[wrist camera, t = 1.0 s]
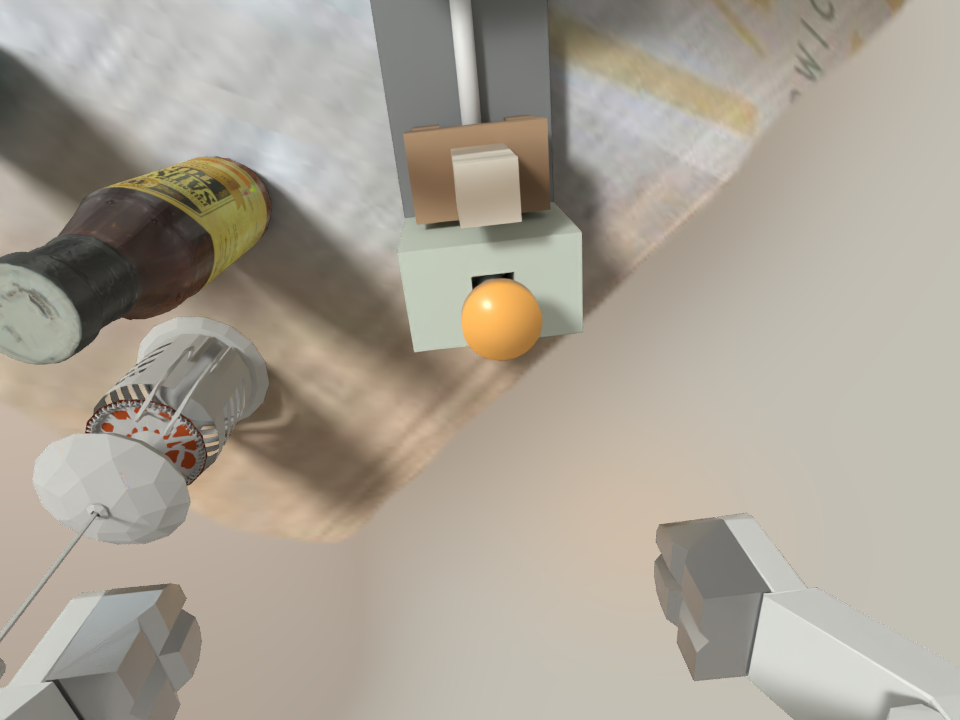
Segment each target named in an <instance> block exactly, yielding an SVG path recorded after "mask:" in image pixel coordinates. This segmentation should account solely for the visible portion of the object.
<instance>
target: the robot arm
mask: <svg viewBox="0 0 960 720" xmlns="http://www.w3.org/2000/svg"><path fill="white" fill-rule="evenodd" d="M656 543H657V545H658V548H659V549H660V552H661V555H660V556H659V557H658V558H657V559H656V561H655V566H654V578H655V584H656V591H657V595H658V598H659V601H660V605H661V607H662V610H663V612H664V614H665V616H666V619H667V620H669V621H670V622H672V623H673V624H674V625H676V626H677V627H678V635H677V644H678V646H679V649H680V651H681V653H682V656H683V658H684V660H685V662H686V664H687V667H688V669H689V671H690V673H691V676H692V678H693V680H694V681H699V680H709V679H720V678H730V677H741V676H748V679H749V680H750V681H751V682H752V683H753V684H754V685H755V686H756V687H757V688H759V689H760V690H761V691H762V692H763V693H764V694H765V695H767V696H768V697H769V698H770V699H771V700H772V701H773V702H774V703H776V704H777V705H778V706H779V707H780V708H781V709H783V710H784V711H785V712H786V713H787V714H788V715H789V716H790V717H792V718H793V719H794V720H960V667H959V666H957V665H955V664H953V663H951V662H950V661H948V660H946V659H944V658H943V657H941V656H939V655H937V654H935V653H934V652H932V651H930V650H928V649H926V648H924V647H923V646H921V645H919V644H918V643H916V642H914V641H912V640H910V639H909V638H907V637H905V636H903V635H901V634H900V633H898V632H896V631H894V630H892V629H891V628H889V627H887V626H885V625H884V624H882V623H880V622H878V621H876V620H875V619H872V618H871V617H869V616H867V615H866V614H864V613H862V612H860V611H858V610H857V609H855V608H853V607H851V606H850V605H848V604H846V603H844V602H842V601H841V600H839V599H837V598H835V597H834V596H832V595H830V594H828V593H826V592H825V591H823V590H821V589H819V588H817V587H816V588H807V587H806V585H805V584H804V583H803V581H802V580H801V579H800V577H799V576H798V575H797V573H796V572H795V571H794V570H793V568H792V567H791V566H790V564H789V563H788V562H787V560H786V559H785V558H784V556H783V555H782V554H781V553H780V551H779V550H778V549H777V547H776V546H775V545H774V544H773V542H772V541H771V539H770V538H769V537H768V536H767V534H766V533H765V532H764V530H763V529H762V528H761V526H760V525H759V524H758V522H757V521H756V520H755V518H754V517H753V516H751V515H750V514H748V513H742V514H735V515H727V516H720V517H717V518H714V517H713V518H705V519H697V520H690V521H682V522H674V523H666V524H659V527H658V529H657V533H656ZM186 599H187V598H186V596H185V594H184V593H183V591H182V589H181V587H180V585H177V584H160V585H150V586H139V587H129V588H118V589H112V590H104V591H93V592H83V593H81V594H79V595H78V596H76V597H75V598H73V599H72V600H71V601H70V602H69V604H68V605H67V607H66V608H65V609H64V610H63V612H62V613H61V614H60V616H59V617H58V618H57V620H56V621H55V622H54V624H53V625H52V626H51V628H50V629H49V631H48V632H47V633H46V635H45V636H44V637H43V639H42V640H41V641H40V643H39V644H38V645H37V647H36V648H35V650H34V651H33V652H32V654H31V655H30V656H29V658H28V659H27V660H26V662H25V663H24V664H23V666H22V667H21V668H20V670H19V671H18V672H17V674H16V675H15V677H14V678H13V679H12V681H11V682H10V683H9V685H8V686H7V687H3V688H0V720H174V718H175V716H176V714H177V711H178V709H179V707H180V701H179V698H178V695H177V691H178V690H179V689H180V688H181V687H182V686H184V685H185V684H186V683H187V682H188V681H189V680H190V679H191V678H192V676H193V674H194V671H195V669H196V666H197V664H198V661H199V656H200V650H201V642H202V640H201V632H200V627H199V625H198V622H197V620H196V618H195V617H194V616H193V615H191V614H189V613H188V612H186V611H184V610H183V609H182V607H183V605H184V603H185V601H186Z"/></svg>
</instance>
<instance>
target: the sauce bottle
mask: <svg viewBox="0 0 960 720" xmlns="http://www.w3.org/2000/svg"><path fill="white" fill-rule="evenodd" d="M270 216H271V201H270V197H269V194H268V191H267V190H266V187H265V185H264V184H263V182H262V181H261V180H260V179H259V178H258V176H257V175H256V174H255V173H254V172H253V171H252V170H250V169H249V168H247V167H246V166H244V165H242V164H240V163H238V162H236V161H233V160H231V159H229V158H228V159H227V158H221V157H198V158H194V159H191V160H188V161H185V162H182V163H179V164H176V165H172V166H169V167H167V168H163V169H160V170H157V171H154V172H151V173H147V174H145V175H141V176H138V177H135V178H132V179H129V180H126V181H123V182H120V183H117V184H113V185H110V186H107V187H104V188H102V189H99V190H96V191H94V192H92V193H90V194H89V195H87V196H86V197H85V198H84V199H83V201H82V202H81V204H80V206H79V207H78V209H77V211H76V213H75V214H74V216H73V217H72V218H71V219H70V221H69V222H68V223H67V225H66V226H65V227H64V229H63V230H62V231H61V233H60V234H59V235H58V236H57V237H55V238H54V239H52V240H51V241H49V242H48V243H47V244H46V245H45V246H42V247H40V248H36V249H34V250H32V251H30V252H15V253H11V254H7V255H5V256H2V257H0V353H2V354H5V355H7V356H9V357H10V358H13V359H15V360H18V361H22V362H25V363H29V364H52V363H60V362H62V361H65V360H67V359H69V358H70V357H72V356H73V355H75V354H76V353H78V352H80V351H81V350H82V349H83V348H85V347H86V346H88V345H89V344H90V343H91V342H92V341H93V340H94V339H95V338H96V337H97V335H98V334H99V331H100V330H101V329H102V328H103V327H104V326H106V325H108V324H109V323H111V322H112V321H115V320H117V319H120V318H121V317H122V318H126V319H129V320H132V319H147V318H151V317H154V316H157V315H160V314H163V313H166V312H168V311H170V310H172V309H174V308H176V307H177V306H178V305H180V304H181V303H182V302H184V301H185V300H186V299H187V298H188V297H191V296H192V295H194V294H196V293H197V292H199V291H200V290H201V289H202V288H204V287H205V286H206V285H207V284H208V283H210V282H211V281H212V280H213V279H214V278H216V277H217V276H218V275H219V274H220V273H222V272H223V271H224V270H225V269H226V268H227V267H229V266H230V265H231V264H232V263H234V262H235V261H236V260H237V259H238V258H240V257H241V256H242V255H243V254H244V253H246V252H247V251H248V250H249V249H250V248H252V247H253V246H254V245H255V244H256V243H257V242H258V241H259V239H260V238H261V236H262V235H263V234H264V233H265V231H266V230H267V228H268V224H269V221H270Z"/></svg>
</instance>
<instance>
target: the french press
mask: <svg viewBox="0 0 960 720" xmlns="http://www.w3.org/2000/svg"><path fill="white" fill-rule="evenodd" d="M137 367H138V369H136V370H134V369H135V368H137ZM130 371H131V372H130ZM130 371H129V372H128V373H127V374H126V375H125V376H124V377H123V378H121V379H120V381H121V382H120V381H119V382H118V383H117V384H116V385H115V386H114V387H112V388H111V389H110V390H109V391H108V392H107V393H106V394H105V395H104V396H103V398H102V399H101V400H100V401H99V403H98V404H97V405H96V406H95V408H94V414H93V416H92V417H91V418H90V419H89V421H88V422H87V425H86V432H85V433H76V434H74V435H71V436H68V437H66V438H63V439H61V440H58V441H56V442H53V443H50V444H49V446H48V447H47V448H46V449H45V450H44V451H43V452H42V454H41V455H40V456H39V457H38V458H37V459H36V460H35V467H34V475H33V484H34V487H35V489H36V492H37V494H38V496H39V499H40V501H41V504H42V506H43V507H45V508H46V509H47V510H48V511H49V512H50V513H51V514H52V515H53V516H54V517H55V518H56V519H57V520H58V521H59V522H60V523H61V524H62V525H64V526H66V527H68V528H70V529H72V530H74V531H75V532H78V533H77V535H76V536H75V537H74V539H73V540H72V541H71V542H70V544H69V545H68V546H67V547H66V549H65V550H64V551H63V553H62V554H61V555H60V557H59V558H58V559H57V560H56V562H55V563H54V564H53V565H52V567H51V568H50V569H49V571H48V572H47V573H46V575H45V576H44V577H43V579H42V580H41V581H40V582H39V584H38V585H37V586H36V587H35V589H34V590H33V591H32V593H31V594H30V595H29V596H28V598H27V599H26V600H25V601H24V603H23V604H22V605H21V607H20V608H19V609H18V610H17V612H16V613H15V614H14V616H13V617H12V618H11V619H10V621H9V622H8V623H7V625H6V626H5V627H4V628H3V630H2V631H1V632H0V642H1V641H2V640H3V638H4V637H5V636H6V634H7V633H8V632H9V631H10V629H11V628H12V627H13V625H14V624H15V623H16V621H17V620H18V619H19V617H20V616H21V615H22V613H23V612H24V611H25V610H26V608H27V607H28V605H29V604H30V603H31V602H32V600H33V599H34V597H35V596H36V595H37V594H38V593H39V591H40V590H41V589H42V587H43V586H44V585H45V583H46V582H47V581H48V579H49V578H50V577H51V576H52V574H53V573H54V572H55V570H56V569H57V568H58V566H59V565H60V563H61V562H62V561H63V560H64V558H65V557H66V556H67V555H68V553H69V552H70V551H71V549H72V548H73V547H74V545H75V544H76V543H77V541H78V540H79V539H80V538H81V536H82V535H83V536H85V537H87V538H90V539H94V540H98V541H103V542H108V543H113V544H146V543H149V542H151V541H155V540H157V539H161V538H163V537H166V536H169V535H170V534H171V533H172V532H173V531H175V530H176V529H177V528H178V527H179V526H180V525H181V524H182V523H183V522H184V521H185V519H186V515H187V512H188V509H189V505H190V502H191V501H190V497H189V493H188V489H187V485H190V484H191V483H192V482H193V481H194V480H195V479H196V478H197V477H198V476H199V475H200V474H201V473H202V472H203V471H205V470H206V469H207V468H208V467H209V466H210V465H211V464H213V463H214V462H215V460H216V459H217V457H218V455H219V454H220V452H221V451H222V447H223V446H224V445H225V443H226V441H227V439H228V436H229V435H230V434H231V433H232V431H233V429H234V426H235V425H236V424H237V422H238V421H240V420H242V419H245V418H248V417H249V416H250V415H251V414H252V413H253V412H254V411H255V410H256V409H257V408H258V407H259V406H260V405H261V404H262V403H263V402H264V398H265V395H266V392H267V389H268V386H269V380H268V374H267V368H266V363H265V361H264V359H263V358H262V356H261V355H260V353H259V352H258V350H257V349H256V347H255V346H254V344H253V343H252V342H251V341H250V340H249V339H247V338H246V337H245V336H243V335H242V334H241V333H239V332H238V331H237V330H235V329H234V328H233V327H231V326H229V325H226V324H223V323H220V322H218V321H215V320H212V319H209V318H206V317H176V318H174V319H171V320H169V321H166V322H164V323H162V324H159V325H157V326H155V327H154V328H153V329H152V330H151V331H150V332H149V334H148V335H147V336H146V337H145V338H144V339H143V341H142V342H141V343H140V348H139V354H138V359H137V364H136V365H135V367H133V368H132V369H131V370H130ZM138 371H139V374H136V375H135V374H134V373H135V372H138ZM128 376H129V378H127V379H125V378H126V377H128ZM138 384H143V386H144V387H145V389H146V391H147V393H148V395H149V396H148V397H147V399H145V398H144V396H143V394H142V392H141V390H140V388H139V386H138ZM127 385H131V386H132V388H133V390H134V392H135V394H136V396H137V398H138V399H135V400H133V399H132V397H131V395H130V393H129V390H128V388H127ZM119 387H121V391H122V394H123V396H124V398H125V400H119V398H118V395H117V392H116V390H115V389H117V388H119ZM109 393H110V396H111V400H112V402H113V403H111V404H108V405H107V404H106V402H105V398H106V396H107V395H108V394H109ZM151 400H152V401H151ZM211 425H215V426H216V429H208V430H201V428H202V427H203V426H211ZM225 425H227V426H225ZM231 427H232V430H231ZM226 430H227V433H226V434H225V431H226ZM230 430H231V431H230ZM214 433H218V436H216V437H212V438H206V439H203V436H202V435H207V434H214ZM225 437H226V440H225ZM224 440H225V441H224ZM215 441H219V444H218V445H215V446H210V447H206V448H205V444H206V443H211V442H215ZM218 448H219V451H218V452H217V453H215V454H214V455H212V456H208V457H207V452H211V451H215V450H217V449H218ZM5 668H6V665H5V663H4V661H3V660H2V659H1V658H0V678H1V677H2V676H3V674H4V673H5Z"/></svg>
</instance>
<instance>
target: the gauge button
mask: <svg viewBox="0 0 960 720" xmlns="http://www.w3.org/2000/svg"><path fill="white" fill-rule="evenodd" d="M461 321H462V330H463V335H464V338H465V340H466V342H467V344H468V345H469V346H470V348H471V349H472V350H473V351H475V352H476V353H477V354H479V355H480V356H482V357H484V358H487V359H491V360H498V361H503V360H510V359H514V358H516V357H519V356H521V355H523V354H524V353H526V352H527V351H528V350H530V349H531V348H532V347H533V345H534V344H535V343H536V341H537V340H538V338H539V336H540V333H541V330H542V314H541V310H540V308H539V306H538V303H537V301H536V299H535V297H534V295H533V294H532V292H531V291H530V290H529V289H528V288H527V287H526V286H524V285H523V284H521V283H519V282H517V281H515V280H511V279H505V278H504V277H503V275H502V274H501V273H500V274H492V275H483V276H480V277H479V279H478V286H477V287H475V288H474V289H473V290H472V291H471V292H470V293H469V295H468V296H467V298H466V299H465V301H464V304H463V307H462V311H461Z"/></svg>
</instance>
